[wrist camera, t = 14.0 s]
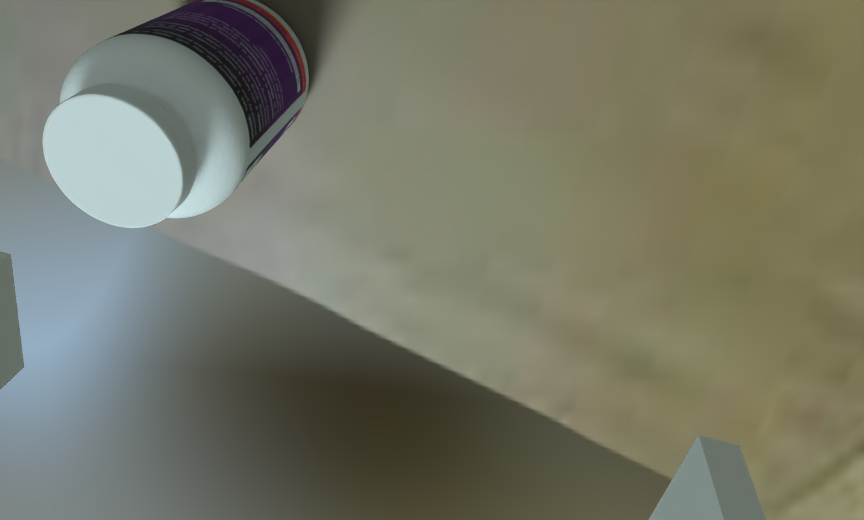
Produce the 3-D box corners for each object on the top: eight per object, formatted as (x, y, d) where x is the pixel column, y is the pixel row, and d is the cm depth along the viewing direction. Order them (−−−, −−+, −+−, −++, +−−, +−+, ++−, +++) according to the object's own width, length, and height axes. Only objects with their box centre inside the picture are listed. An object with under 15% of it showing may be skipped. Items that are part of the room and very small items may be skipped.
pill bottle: (181, -30, 36) (1, 24, 23) (326, 17, 36) (226, 95, 24) (169, 111, 40) (11, 221, 27) (300, 152, 40) (202, 279, 28)
